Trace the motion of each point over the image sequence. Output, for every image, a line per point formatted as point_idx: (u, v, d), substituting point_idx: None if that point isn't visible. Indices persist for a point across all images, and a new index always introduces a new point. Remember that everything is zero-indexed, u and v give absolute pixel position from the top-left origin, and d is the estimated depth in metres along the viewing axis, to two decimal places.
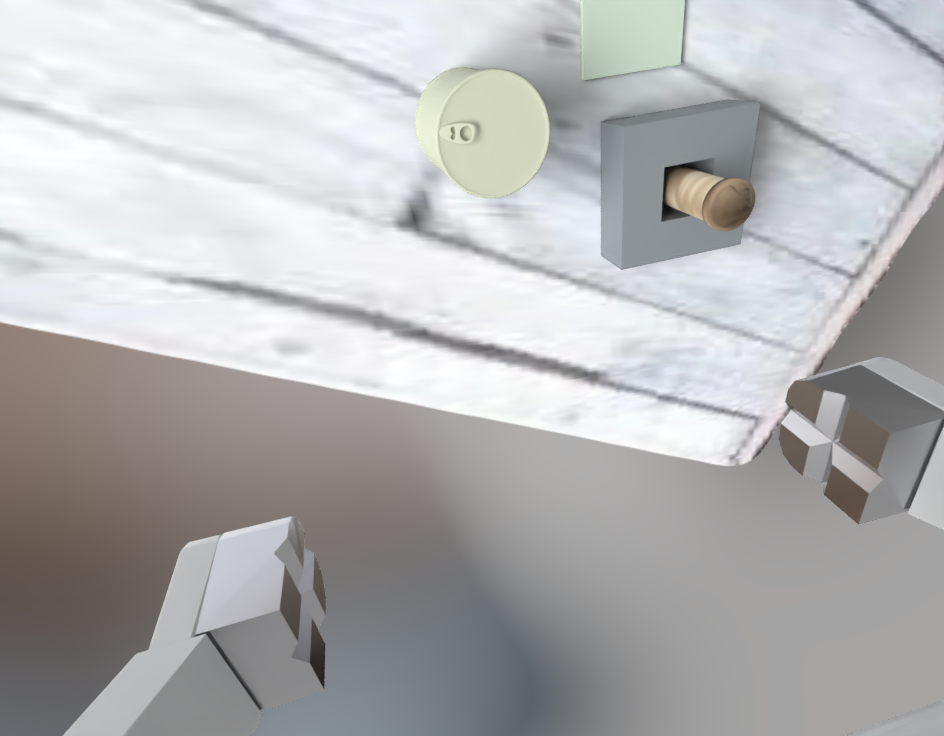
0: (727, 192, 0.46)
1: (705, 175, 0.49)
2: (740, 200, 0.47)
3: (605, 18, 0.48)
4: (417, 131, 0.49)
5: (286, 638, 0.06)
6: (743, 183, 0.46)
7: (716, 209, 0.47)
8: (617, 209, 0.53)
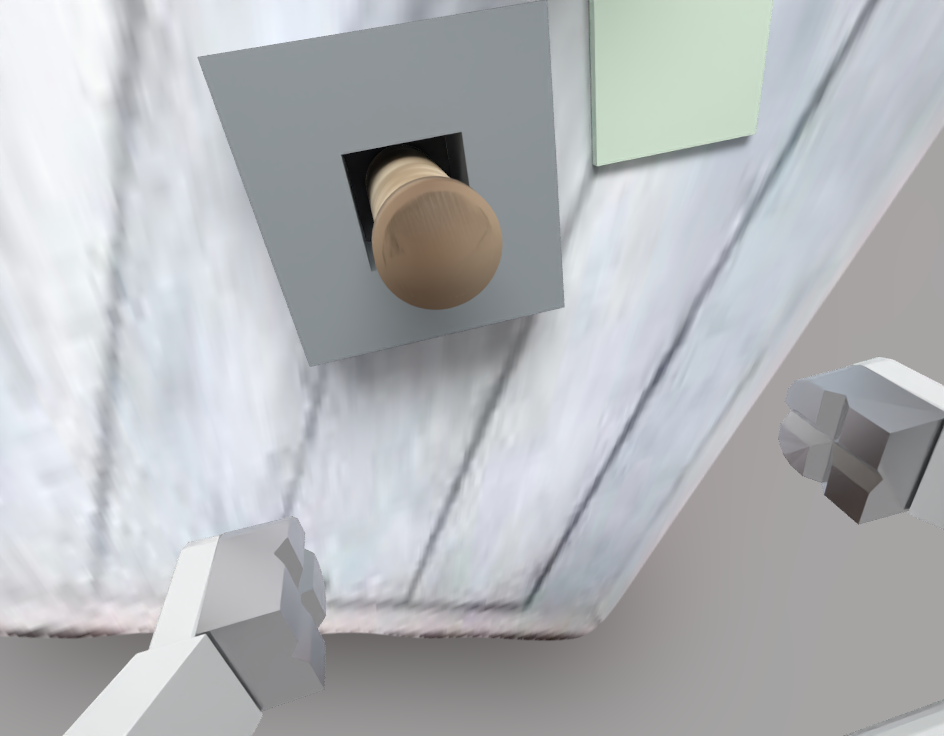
0: (472, 225, 0.18)
1: None
2: (452, 269, 0.19)
3: None
4: None
5: (286, 638, 0.06)
6: (492, 262, 0.19)
7: (430, 207, 0.18)
8: None
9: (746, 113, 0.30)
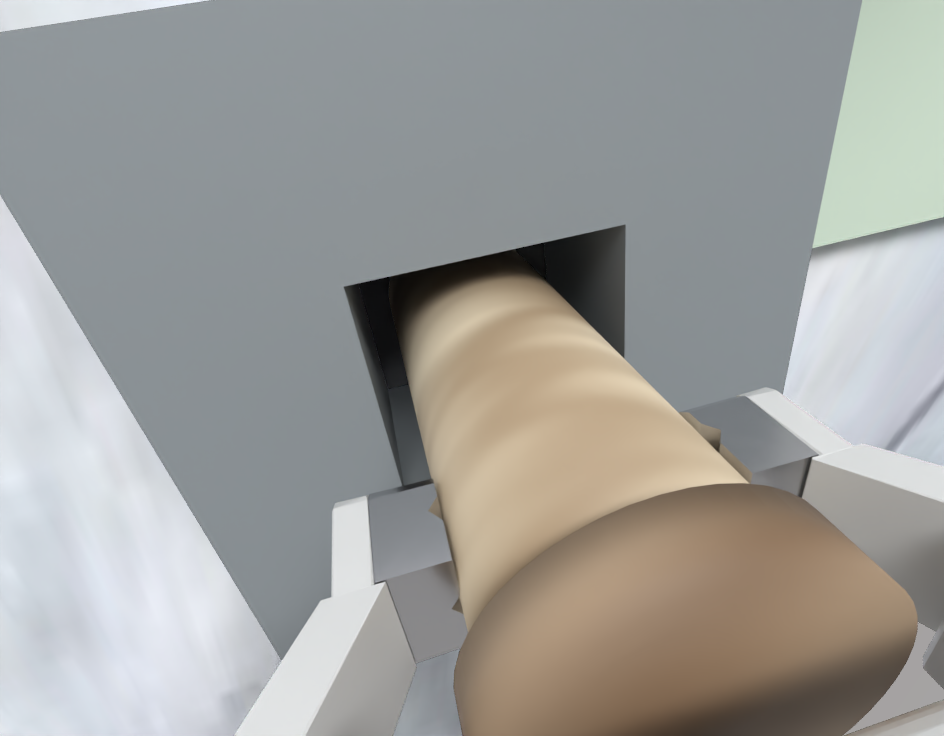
0: (833, 658, 0.05)
1: None
2: None
3: None
4: None
5: (451, 591, 0.06)
6: (846, 719, 0.06)
7: (715, 647, 0.04)
8: None
9: None
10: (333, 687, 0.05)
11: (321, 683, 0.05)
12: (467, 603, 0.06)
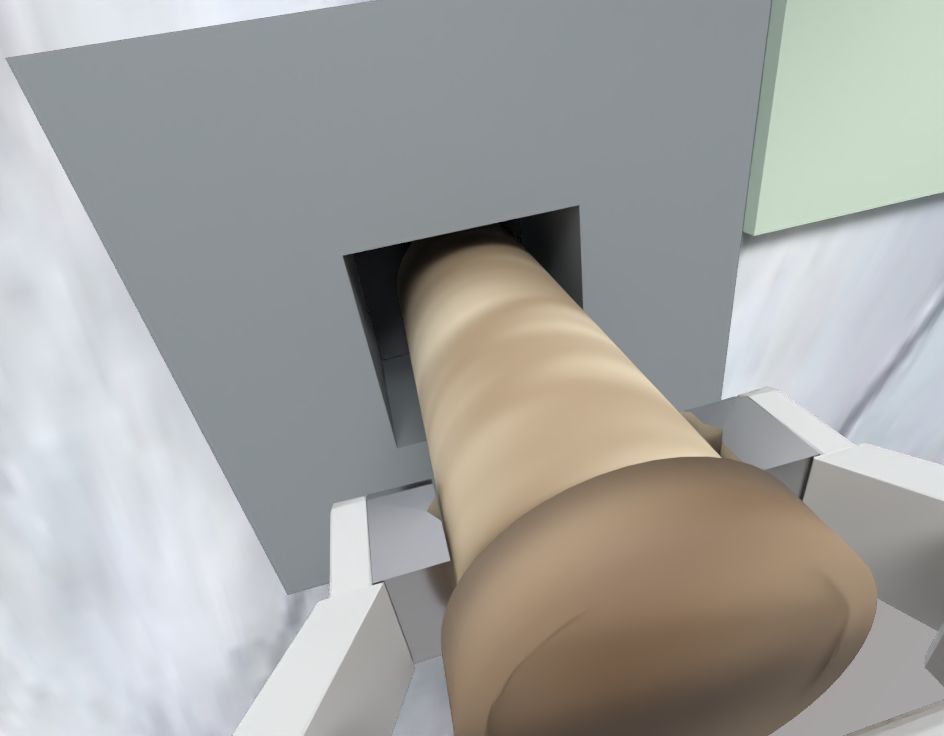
0: (794, 622, 0.05)
1: None
2: (698, 718, 0.06)
3: None
4: None
5: (450, 590, 0.06)
6: (816, 684, 0.06)
7: (673, 605, 0.05)
8: None
9: None
10: (330, 688, 0.05)
11: (318, 684, 0.05)
12: (456, 572, 0.07)
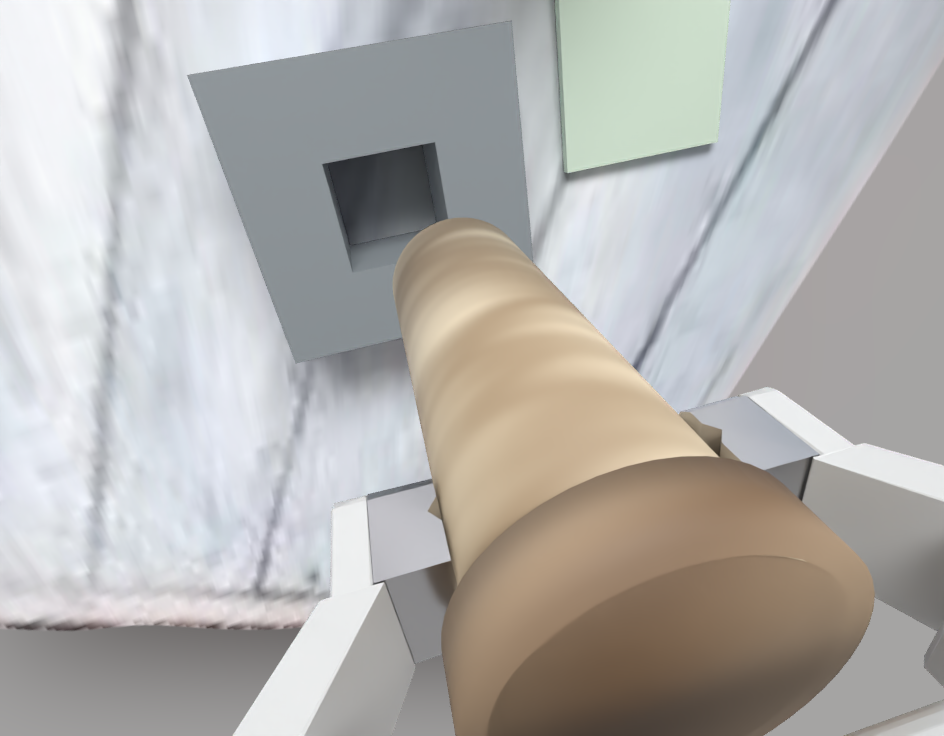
0: (793, 620, 0.05)
1: None
2: (698, 717, 0.06)
3: (641, 4, 0.28)
4: None
5: (450, 591, 0.06)
6: (814, 681, 0.06)
7: (673, 604, 0.05)
8: None
9: (707, 122, 0.32)
10: (332, 688, 0.05)
11: (319, 683, 0.05)
12: (456, 574, 0.07)
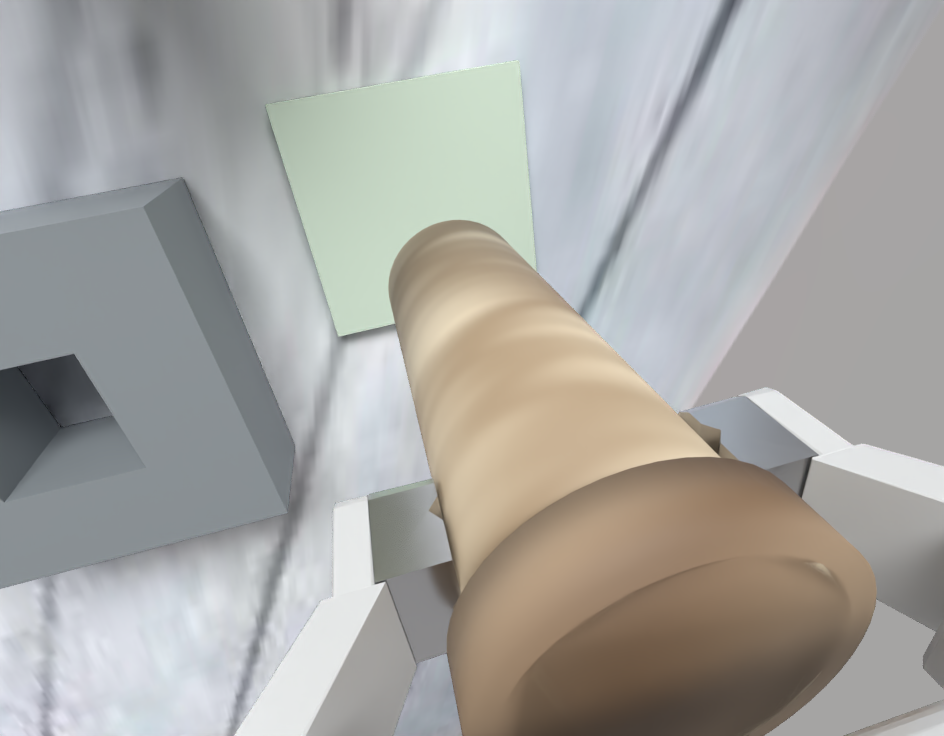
0: (797, 618, 0.05)
1: None
2: (703, 717, 0.06)
3: (399, 143, 0.21)
4: None
5: (451, 590, 0.06)
6: (817, 679, 0.06)
7: (680, 605, 0.05)
8: None
9: None
10: (334, 686, 0.05)
11: (321, 683, 0.05)
12: (460, 577, 0.07)
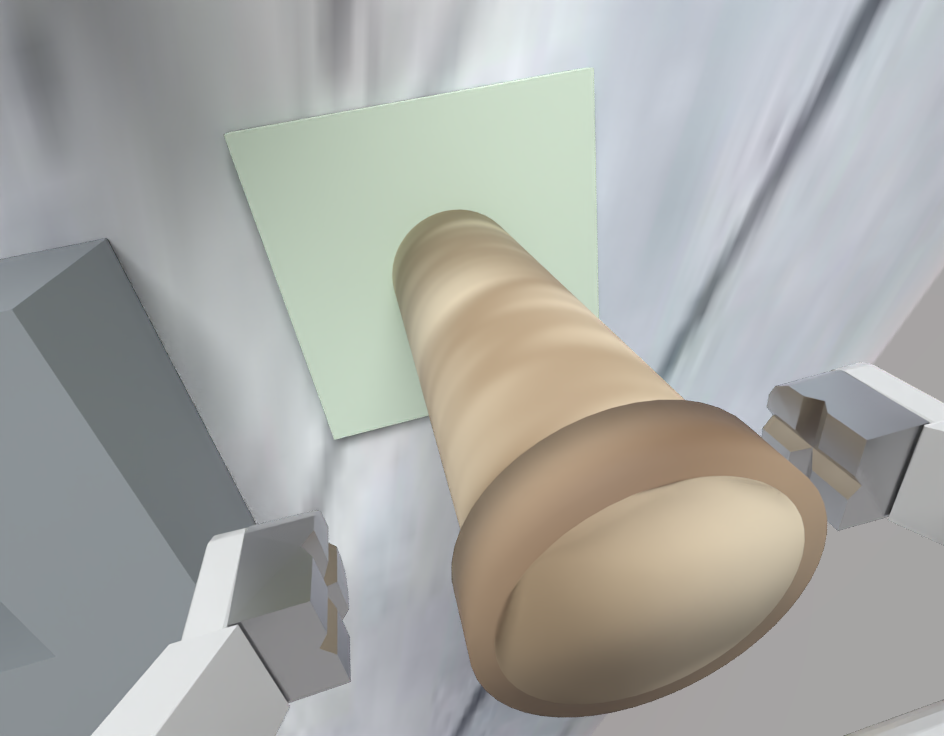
0: (757, 540, 0.06)
1: None
2: (678, 634, 0.07)
3: (420, 185, 0.15)
4: None
5: (315, 630, 0.06)
6: (779, 603, 0.07)
7: (653, 520, 0.06)
8: None
9: None
10: None
11: None
12: (462, 516, 0.07)
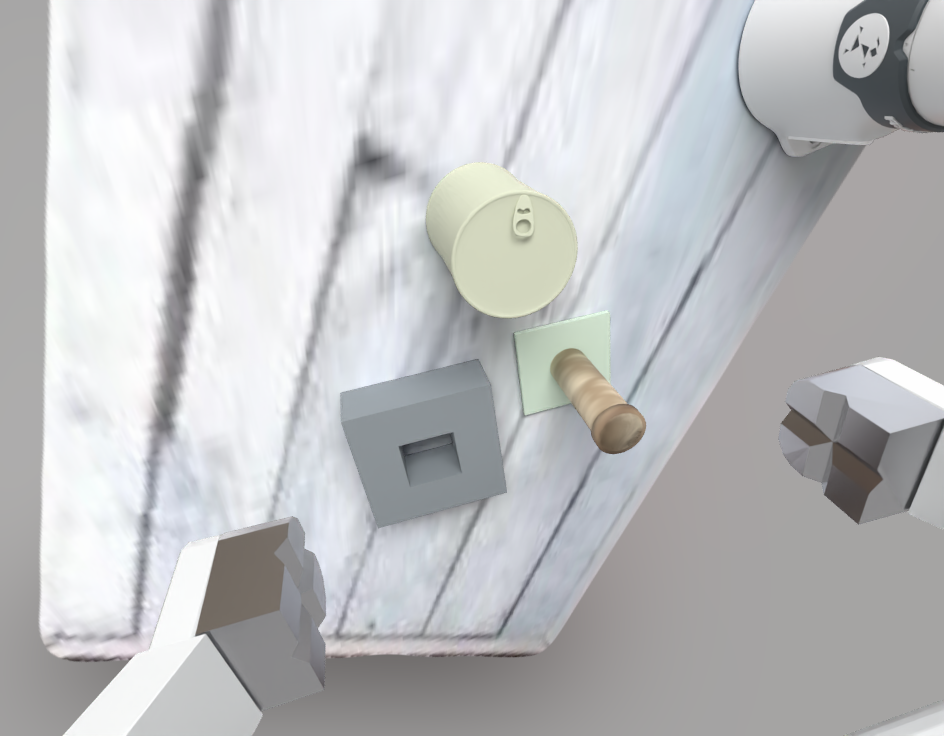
0: (635, 423, 0.45)
1: None
2: (625, 438, 0.45)
3: (561, 343, 0.54)
4: (472, 165, 0.43)
5: (286, 638, 0.06)
6: (640, 434, 0.46)
7: (620, 419, 0.44)
8: (406, 398, 0.49)
9: None
10: None
11: None
12: (591, 422, 0.46)
